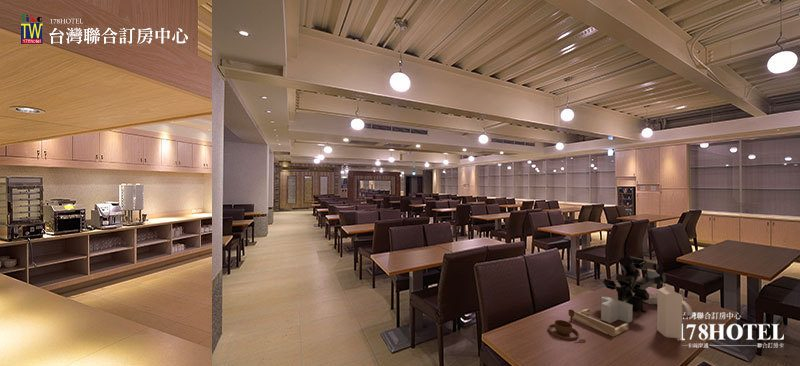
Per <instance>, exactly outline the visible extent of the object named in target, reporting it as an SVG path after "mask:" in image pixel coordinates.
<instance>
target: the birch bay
mask: <svg viewBox="0 0 800 366" xmlns="http://www.w3.org/2000/svg"><path fill="white" fill-rule="evenodd" d="M589 315H590V308H584V309H582V310H580V311H576V310H574V316H573V317H572V319H573V320H574V321H576V322H578V323H580V324H583V325H585V326H587V327H590V328H591V329H595V330H597V331H599V332H601V333H604V334H606V335H608V334H609V336H611V337H616V336H618V335H620V334H622V333H624V332H626V331H628V330H629V323H627V322H624V323H622V324H621V325H619V326H617V327H615V326H613V325H611V324H609V323H606V322H605V321H604V322H603V321H601V320H598V319H596V318H593V317H592V316H589Z"/></svg>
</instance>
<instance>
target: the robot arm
mask: <svg viewBox="0 0 800 366" xmlns="http://www.w3.org/2000/svg"><path fill="white" fill-rule="evenodd" d="M618 263H619V265H620V267H621V269H622V271H624V274H620V273H616V275H615V280H616V281H617V283H616V282H615V281H614V280H613V279H609V278H604V279H603V281H602V283H603V284H604V286H605V288H606V289H608V290H615V291H616V292H617V300H619V301H622V302H625V303H629V304H632V305H633V307H632V311H636V312H643V313H644V312H646V311H645V310H644V301H646V300H649V294H648V293H649V292H648V291H647V289H649V288H650V287H652V286H653V285H664V283H665V282H666V279H667V277H666V274H665V271H663V269H662V268H660V266H659V263H656V262H653V261H648V260H646V259H644V258H639V257H634V256H629V255H625V257H621V258H620V259H619V260H618ZM640 270H641V271H643V270H644V271H643V274H644V276H643V277H642V278H640V279H639V277H641V272H640ZM652 270H653V271H652ZM643 300H644V301H643Z"/></svg>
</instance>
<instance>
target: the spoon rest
mask: <svg viewBox="0 0 800 366" xmlns="http://www.w3.org/2000/svg"><path fill="white" fill-rule="evenodd" d="M648 294H649V300H646V301H644V300H643V303H646V304H649V303H650V305H654V304H656V305H658V293H657V294H656V293H652V292H648ZM682 307H683V308H684V311H685V312H684V313H685V316H687V317H688V316H689V317H690V316H692V315H693V310H692V308H691V306H690V305H689V303H687V302H686V301H685V300H683V299H682Z"/></svg>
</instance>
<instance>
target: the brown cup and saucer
mask: <svg viewBox="0 0 800 366" xmlns="http://www.w3.org/2000/svg"><path fill="white" fill-rule="evenodd" d="M574 311H575V310H573V309H568V316H569V317H570V318H569V320H570V321H566V320H564V319H557V320H554V323H551V324H549V325H548V331H549V333H550V334H551V335H553V336H554V337H556V338H557V339H562V340H566V341H574V340H577V339H578V338H579V336H580V333H579V332H578V331H577V330H576V329H575V328H573V324H572V323H573V320H574V319H572V317H573V316H574ZM552 329H555V331H557V332H558V333H559V334H557V333H555V332H553V331H552ZM572 333H573V334H575V336H574V337H573V336H572V337H570V336H569V335H570V334H572ZM567 336H569V337H567ZM574 343H575V344H578V343H580V344H582V343H586V339H585V338H584V339H583V338H581V339H579V340H578V341H576V342H574Z"/></svg>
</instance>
